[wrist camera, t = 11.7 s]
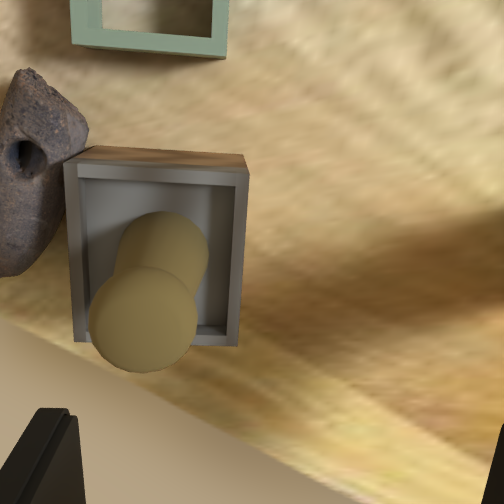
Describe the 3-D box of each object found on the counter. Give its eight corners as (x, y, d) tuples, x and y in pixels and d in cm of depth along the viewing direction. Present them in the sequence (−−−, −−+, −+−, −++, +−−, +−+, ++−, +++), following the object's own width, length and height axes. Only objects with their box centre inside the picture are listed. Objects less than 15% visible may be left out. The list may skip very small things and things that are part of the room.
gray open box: (243, 154, 36) (249, 174, 29) (233, 296, 40) (237, 346, 33) (96, 145, 35) (63, 162, 28) (101, 291, 39) (74, 342, 32)
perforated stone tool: (53, 272, 39) (20, 311, 32) (-13, 249, 38) (-61, 285, 31) (111, 95, 34) (86, 98, 28) (38, 64, 33) (-5, 59, 27)
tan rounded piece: (109, 282, 32) (58, 377, 22) (129, 199, 30) (84, 260, 20) (195, 305, 33) (185, 406, 23) (220, 226, 31) (222, 296, 21)
